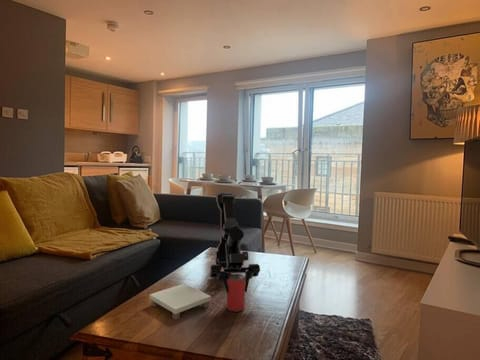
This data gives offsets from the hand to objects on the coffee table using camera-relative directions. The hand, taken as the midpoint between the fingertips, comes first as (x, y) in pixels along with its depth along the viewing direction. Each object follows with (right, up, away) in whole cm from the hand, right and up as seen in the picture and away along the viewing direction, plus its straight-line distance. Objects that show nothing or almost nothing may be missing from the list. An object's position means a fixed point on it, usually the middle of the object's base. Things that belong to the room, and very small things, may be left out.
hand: (236, 292), depth 120 cm
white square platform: (-21, -6, +2) cm, 22 cm away
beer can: (-1, -7, +2) cm, 7 cm away
